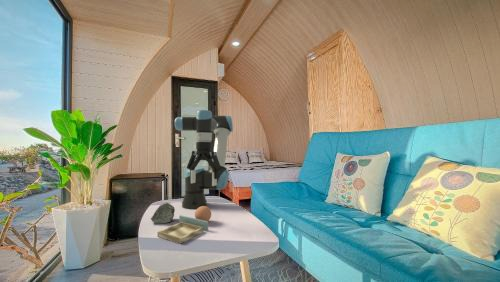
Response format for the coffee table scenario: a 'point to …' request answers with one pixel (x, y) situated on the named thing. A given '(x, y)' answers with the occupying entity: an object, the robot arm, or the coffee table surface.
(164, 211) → the stone
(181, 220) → the wall
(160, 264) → the coffee table surface
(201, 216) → the ball
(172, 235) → the tray
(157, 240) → the coffee table surface
